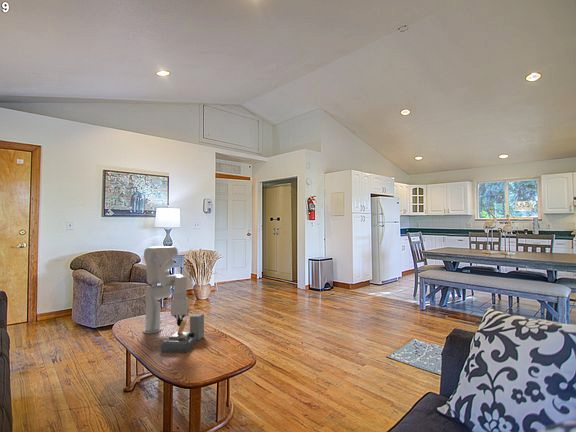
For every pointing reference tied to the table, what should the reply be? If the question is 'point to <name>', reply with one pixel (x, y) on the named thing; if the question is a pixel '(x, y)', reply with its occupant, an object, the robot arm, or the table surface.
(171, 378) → the table surface
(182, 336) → the breaker box
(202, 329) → the skincare box
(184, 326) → the breaker lever
